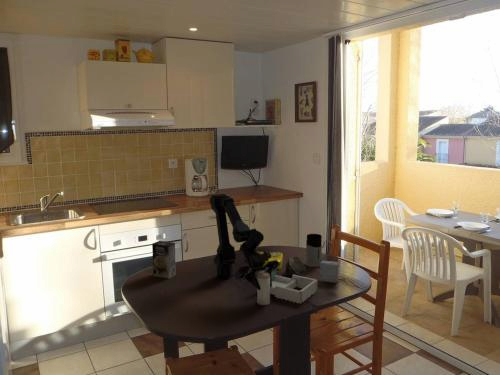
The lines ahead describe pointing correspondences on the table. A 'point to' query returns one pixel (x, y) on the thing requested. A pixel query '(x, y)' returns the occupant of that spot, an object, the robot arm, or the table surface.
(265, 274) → the salt jar
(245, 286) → the table surface
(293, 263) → the fossil
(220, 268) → the robot arm
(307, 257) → the glass holder
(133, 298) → the table surface
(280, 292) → the dock housing
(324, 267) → the medicine box
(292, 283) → the white and teal drawer
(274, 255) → the yellow box
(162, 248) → the coffee box
